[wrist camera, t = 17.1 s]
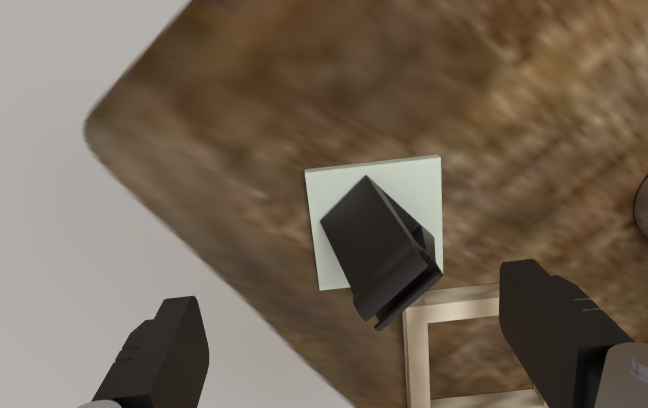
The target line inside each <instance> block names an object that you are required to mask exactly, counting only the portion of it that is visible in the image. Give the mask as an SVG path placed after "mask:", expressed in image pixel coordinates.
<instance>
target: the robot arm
mask: <svg viewBox="0 0 648 408" xmlns="http://www.w3.org/2000/svg"><path fill="white" fill-rule="evenodd" d="M634 214H635V219H636V223H637V225H638V227H639V228H640V230H641V231H642V232H643V233H644V234H645V235H646V236H647V237H648V177H647V179H646V180H645V181H644V183H643V184H642V186H641V188H640V190H639V192H638V194H637V197H636V201H635V212H634ZM499 321H500V326H501V329H502V332H503V335H504V337H505V339H506V340H507V342H508V343H509V345H510V347H511V348H512V350H513V351H514V353H515V355H516V356H517V358H518V359H519V361H520V363H521V364H522V366H523V367H524V369H525V371H526V372H527V374H528V375H529V377H530V378H531V380H532V382H533V383H534V385H535V386H536V388H537V390H538V391H539V393H540V394H541V396H542V398H543V399H544V401H545V402H546V404H547V405H548V407H549V408H648V344H644V343H637V342H634V341H633V340H632V339H631V338H630V337H629V336H628V335H627V334H626V333H625V332H624V331H623V330H622V329H621V328H620V327H619V326H618V325H617V324H616V323H615V322H614V321H613V320H612V319H611V318H610V317H609V316H608V315H607V314H606V313H605V312H604V311H603V310H600V309H599V307H598V306H597V305H596V304H595V303H594V302H593V301H592V300H589V297H588V296H587V295H586V294H585V293H584V292H583V291H582V290H581V289H580V288H579V287H578V286H577V285H575V284H573V283H571V282H569V281H567V280H565V279H563V278H561V277H559V276H557V275H556V276H550V275H549V274H548V273H547V272H546V271H545V270H544V269H543V268H542V267H541V266H540V265H539V264H538V263H537V262H536V261H535V260H533V259H527V260H518V261H509V262H503V263H502V264H501V267H500V287H499ZM115 360H116V361H115V363H113V365H112V366H111V368H110V370H109V372H108V373H107V375H106V377H105V379H104V380H103V382H102V384H101V385H100V387H99V389H98V391H97V392H96V394H95V396H94V398H93V399H92V401H91V402H89V403H87V404H84V405H82V406H80V407H77V408H197V406H198V402H199V398H200V395H201V391H202V388H203V384H204V381H205V378H206V374H207V371H208V366H209V348H208V342H207V338H206V334H205V330H204V326H203V321H202V317H201V313H200V309H199V305H198V301H197V299H196V297H195V296H188V297H180V298H170V299H165V300H164V301H163V303H162V305H161V307H160V308H159V310H158V312H157V315H156V316H155V318H154V319H153V320H145V321H144V322H143V323H142V324H141V325H140V326H138V327H137V328H136V329H135V330H134V331H133V332H131V334H130V335H129V337H128V338H127V340H126V342H125V344H124V345H123V347H122V351H120V352H119V354H118V356H117V358H116V359H115Z"/></svg>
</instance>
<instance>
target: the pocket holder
mask: <svg viewBox="0 0 648 408" xmlns="http://www.w3.org/2000/svg"><path fill="white" fill-rule="evenodd" d="M559 277H561V276H559ZM561 278H562V277H561ZM499 287H500V283H494V284H485V285H476V286H467V287H458V288H449V289H440V290H431V291H426V292H425V293H424V294H422V295H421V296H420V297H419V298H418V299H417V300H416V301H415V302H413V303H412V304H411V305H410V306H409V307H408V308H407V309H405V310H404V311H403V312H402V318H403V336H404V354H405V371H406V389H407V406H408V408H549V407H548V405H547V404H546V402H545V401H544V399H543V398H542V396H541V394H540V393H539V391H538V390H537V388H536V386H535V385H534V386H533V389H527V390H518V391H508V392H499V393H490V394H481V395H471V396H462V397H453V398H444V399H435V400H430V382H429V353H428V325H427V323H433V322H442V321H451V320H460V319H469V318H478V317H487V316H496V315H499Z"/></svg>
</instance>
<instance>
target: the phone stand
mask: <svg viewBox="0 0 648 408" xmlns="http://www.w3.org/2000/svg"><path fill="white" fill-rule="evenodd" d="M320 223H321V225H322V228H323V230H324V232H325V234H326V236H327V238H328V240H329V242H330V245H331V247H332V249H333V251H334V253H335V255H336V257H337V260H338V262H339V264H340V266H341V268H342V270H343V272H344V274H345V277H346V279H347V281H348V283H349V285H350V287H351V290H352V293H353V302H354V306H355V308H356V310H357V311H358V313H359V314H360V316H361V317H362V318H363V319H364V321H365V322H366V321H368V320H369V319H370V318H371V317H372V316H373V315H374V314H375V315H376V316H377V318H378V320H379V322H378V323H377V324H376V325H375V326H374V328H375V330H378V331H382V330H383V329H384V328H385V327H386V326H387V325H388V324H390V323H391V322H392V321H393V320H394V319H395V318H396V317H397V316H399V315H400V314H401V313H402V312H403V311H404V310H405V309H407V308H408V307H409V306H410V305H411V304H412V303H413V302H415V301H416V300H417V299H418V298H419V297H420V296H421V295H422V294H424V293H425V292H426V291H427V290H428V289H429V288H430V287H432V286H433V285H434V284H435V283H436V282H437V281H438V280H440V279H441V278H442V277H443V273H442V271H441V270H440V268H439V267H438V265H437V263H436V258H435V238H434V237H433V235H432V234H431V233H430V232H428V231H427V230H426V229H425V228H424V227H423V226H422V225H421V224H420V223H419V222H418V221H416V220H415V219H414V218H413V217H412V216H411V215H410V214H409V213H408V212H407V211H405V210H404V209H403V208H402V207H401V206H400V205H399V204H398V203H397V202H396V201H395V200H393V199H392V198H391V197H390V196H389V195H388V194H387V193H386V192H385V191H384V190H383V189H381V188H380V187H379V186H378V185H377V184H376V183H375V182H374V181H373V180H372V179H371V178H369V177H368V176H367V175H365V176H364V177H363V178H362V179H361V180H360V181H359V182H358V183H357V184H356V185H355V186H354V187H353V188H352V189H351V190H350V191H349V192H348V193H347V194H346V195H345V196H344V197H343V198H342V199H341V200H340V201H339V202H338V203H337V204H336V205H335V206H334V207H333V208H332V209H331V210H330V211H329V212H328V213H327V214H326V215H325V216H324V217H323V218H322V219H321V220H320Z"/></svg>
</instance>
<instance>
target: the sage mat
mask: <svg viewBox="0 0 648 408" xmlns="http://www.w3.org/2000/svg"><path fill="white" fill-rule="evenodd" d="M365 175H367V176H368V177H369V178H371V179H372V180H373V181H374V182H375V183H376V184H377V185H378V186H379V187H380V188H381V189H383V190H384V191H385V192H386V193H387V194H388V195H389V196H390V197H391V198H392V199H393V200H395V201H396V202H397V203H398V204H399V205H400V206H401V207H402V208H403V209H404V210H405V211H407V212H408V213H409V214H410V215H411V216H412V217H413V218H414V219H415V220H416V221H418V222H419V223H420V224H421V225H422V226H423V227H424V228H425V229H426V230H427V231H428V232H430V233H431V234H432V235H433V237H434V238H435V258H436V263H437V265H438V267H439V268H440V270H441V271H442V273H443V243H442V193H441V157H440V156H439V155H438V154H437V155H429V156H420V157H411V158H402V159H393V160H384V161H375V162H367V163H358V164H349V165H340V166H331V167H322V168H314V169H305V179H306V187H307V195H308V202H309V210H310V218H311V226H312V234H313V241H314V249H315V257H316V265H317V273H318V280H319V288H320V291H321V290H330V289H339V288H348V287H350V285H349V283H348V281H347V279H346V277H345V274H344V272H343V270H342V268H341V266H340V264H339V262H338V260H337V257H336V255H335V253H334V251H333V249H332V247H331V245H330V242H329V240H328V238H327V236H326V234H325V232H324V230H323V228H322V225H321V223H320V220H321V219H322V218H323V217H324V216H325V215H326V214H327V213H328V212H329V211H330V210H331V209H332V208H333V207H334V206H335V205H336V204H337V203H338V202H339V201H340V200H341V199H342V198H343V197H344V196H345V195H346V194H347V193H348V192H349V191H350V190H351V189H352V188H353V187H354V186H355V185H356V184H357V183H358V182H359V181H360V180H361V179H362V178H363V177H364V176H365Z"/></svg>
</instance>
